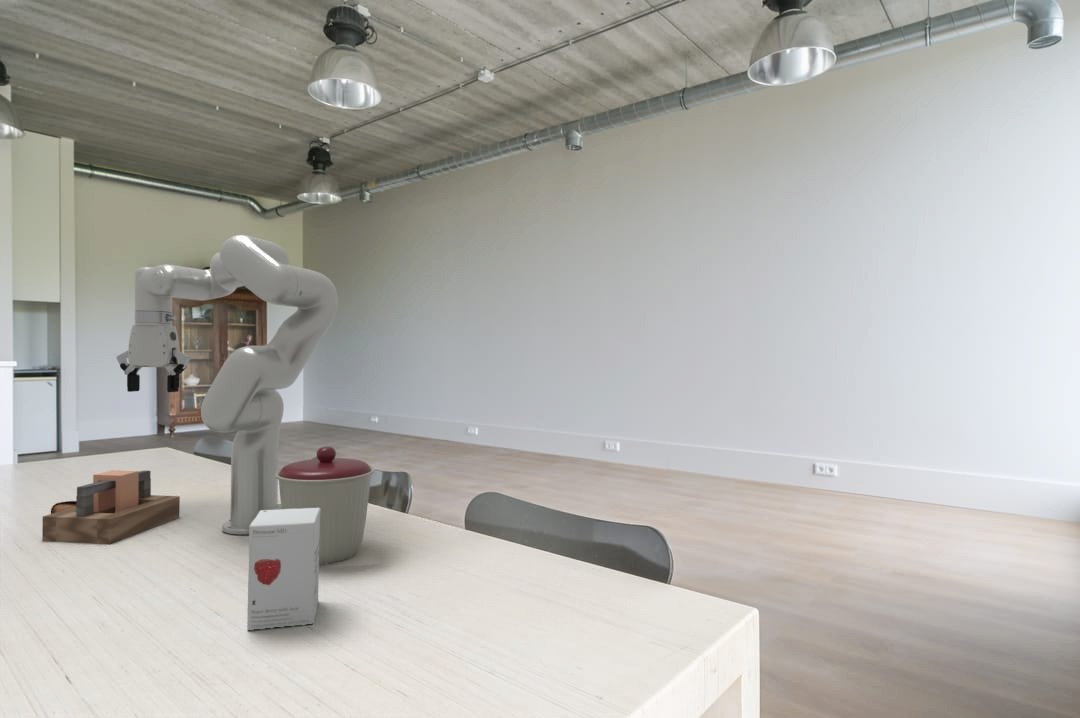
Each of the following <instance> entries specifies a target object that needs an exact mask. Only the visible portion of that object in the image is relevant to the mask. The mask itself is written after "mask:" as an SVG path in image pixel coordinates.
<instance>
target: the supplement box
mask: <svg viewBox="0 0 1080 718" xmlns="http://www.w3.org/2000/svg"><path fill="white" fill-rule="evenodd" d="M320 510H321V509H320V508H303V509H279V510H260V512H259V513H258V515H257V516H256V518H255V519H254V520H253V522H252V523H251V525H250V526H249V534H248V573H247V575H248V580H247V581H248V583H247V584H248V585H247V623H246V624H247V626H246V627H247V631H248V630H250V631H255V630H254V629H260V630H266V629H265V628H270V629H275V628H274V627H281V628H285V627H284V626H292V627H294V626H293V625H302V626H304V625H303V624H312V623H313V624H314V622H315V619H316V614H317V609H318V606H319V605H318V604H319V584H320V583H319V577H320V576H319V574H320V573H319V572H320V570H319V569H320V566H319V565H320V564H319V539H320ZM313 624H312V625H313Z"/></svg>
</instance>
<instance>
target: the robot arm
mask: <svg viewBox="0 0 1080 718" xmlns="http://www.w3.org/2000/svg"><path fill="white" fill-rule="evenodd" d="M219 250H220V251H219V252H216V253H215V254H214V255H213V256H212V258H211V259H210V264H209V269H201V268H194V267H189V266H182V265H175V264H166V263H165V264H160V265H157V266H147V267H146V266H143V267H138V268H137V269H136V270H135V272H134V274H135V275H134V325H132V326H131V330H130V334H129V341H128V350H126V351H124V352H122V353H121V354H119V355H117V356H116V360H117V362H118V364H119V367H120V369H121V370H123V372H124V375H126V388H127V389H126V390H127V392H128V393H129V392H130V393H132V392H139V391H140V390H141V388H140V387H141V386H140V383H141V382H140V381H141V380H140V377H141V376H140V374H139V371H140V370H141V369H142V368H165V369H166V370H165V371H167V372H168V373H169V374H168V375H167V380H166V381H167V383H166V384H167V385H166V386H167V387H166V391H167V393H177V392H179V388H180V376H181V375H182V374H183V372H184V371H185V370H186V369H187V367H188V364H189V362H190V361H191V357H190V356H189V355H187V354H186V353H183V352H181V350H180V339H179V335H178V331H177V327H176V326H175V325H173V323H174V322H173V321H177V319H178V318H177V317H178V316H177V315H174V313H173V298H174V299H184V300H193V301H210V300H215V299H220V298H223V297H226V296H229V295H231V294H232V293H234V292H235V291H236V290H237V289H238V288H242V287H245V288H246V289H248V290H249V291H251V293H253V294H254V295H255V296H257V297H258V298H259V299H261V300H262V301H264V302H266V303H269V304H271V305H276V306H284V307H292V308H297V310H295V312H294V313H293V314H291V315H289V316H288V317H287V318H286V319H285V320H284V321H283V322H282V323H281V325H279V327H278V329H277V330H276V333H275V334H274V336H273V337H272V338H271V340H270V341H269V342H268V343H266V344H264V345H246V346H242V347H238V348H237V349H236V350H234V351H233V352H231V354H230V355H229V356H228V357H227V358H226V360H225V361H224V362H223V364H222V366H221V367H220V369H219V372H217V374H216V376H215V378H214V380H213V381H212V383H211V385H210V386H209V388H208V390H207V392H206V393H205V395H204V398H203V399H202V404H201V406H200V407H201V408H200V413H201V414H200V416H201V420H202V423H203V424H204V425H205V427H206V428H207V429H208V430H210V431H212V432H216V433H222V434H224V433H233V432H236V434H235V436H234V438H233V441H232V444H231V445H232V446H231V449H230V450H231V451H230V452H231V453H230V454H231V456H230V458H231V459H230V519H229V520H226V521H225V522H224V523H222V526H221V527H222V532H224V533H226V534H231V535H249V526H250V525H251V523H252V522H253V520H254V519H255V518H256V516H257V515H258V513H259V512H260V510H279V509H282V508H281V503H279V500H278V497H279V494H278V493H279V492H278V491H279V489H278V488H279V480H278V479H277V478H276V477H275V473H276V472H277V471H279V442H280V430H281V424H282V419H283V415H284V410H285V409H284V405H285V404H284V400H283V397H282V395H281V394H280V393H279V392H278V390H282V389H283V390H284V389H288V388H289V387H291V386H292V385H294V383H295V382H296V380H297V379H298V377H299V375H300V374H301V373H302V371H303V369H304V367H305V366H306V365H307V362H308V361H309V359H310V358H311V356H312V355H313V352H314V351H315V349H316V347H317V346H318V345H319V343H320V341H321V340H322V338H323V337H324V336H325V334H326V333H327V331H328V330H329V329H330V327H331V326H332V324H333V322H334V320H335V319H336V317H337V311H338V307H339V297H338V292H337V289H336V287H335V284H334V283H333V282H332V280H331V279H330V278H329V277H327V276H326V275H324V274H323V273H322V272H318V271H316V270H312V269H308V268H305V267H298V266H293V265H290V257H289V255H288V252H287V251H286V250H285V249H284V247H282V246H280V245H279V244H278V243H276V242H273V241H269V240H266V239H263V238H258V237H254V236H251V235H245V234H237V235H233V236H231V237H229V238H228V239H226V240H225V241H224V242H223V243H222V245H221V247H220V249H219Z"/></svg>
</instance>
